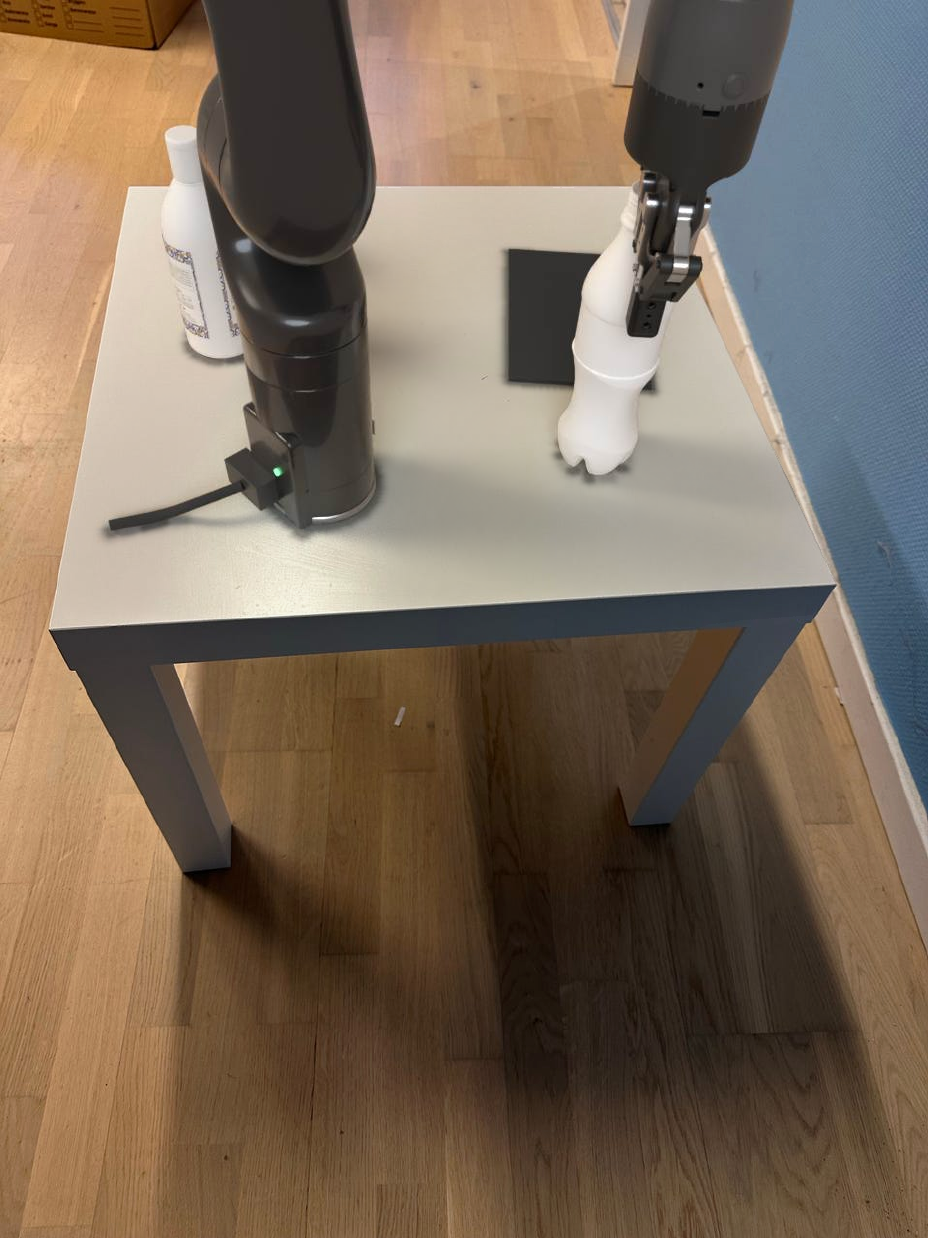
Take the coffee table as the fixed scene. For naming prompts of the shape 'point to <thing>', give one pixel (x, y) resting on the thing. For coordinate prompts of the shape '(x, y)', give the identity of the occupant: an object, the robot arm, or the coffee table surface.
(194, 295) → the bath foam
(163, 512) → the robot arm
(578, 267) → the mat
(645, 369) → the water bottle
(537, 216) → the coffee table surface
